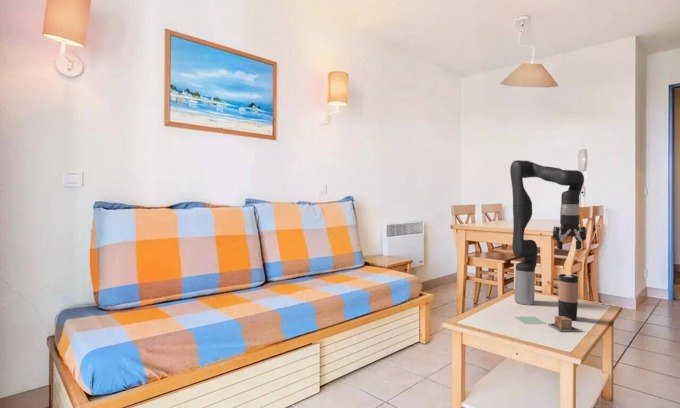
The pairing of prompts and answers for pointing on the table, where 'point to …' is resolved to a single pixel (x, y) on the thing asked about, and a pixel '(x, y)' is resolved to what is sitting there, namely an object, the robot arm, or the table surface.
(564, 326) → the letter cube
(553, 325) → the tray
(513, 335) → the table surface
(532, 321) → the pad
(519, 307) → the table surface
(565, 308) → the travel mug
